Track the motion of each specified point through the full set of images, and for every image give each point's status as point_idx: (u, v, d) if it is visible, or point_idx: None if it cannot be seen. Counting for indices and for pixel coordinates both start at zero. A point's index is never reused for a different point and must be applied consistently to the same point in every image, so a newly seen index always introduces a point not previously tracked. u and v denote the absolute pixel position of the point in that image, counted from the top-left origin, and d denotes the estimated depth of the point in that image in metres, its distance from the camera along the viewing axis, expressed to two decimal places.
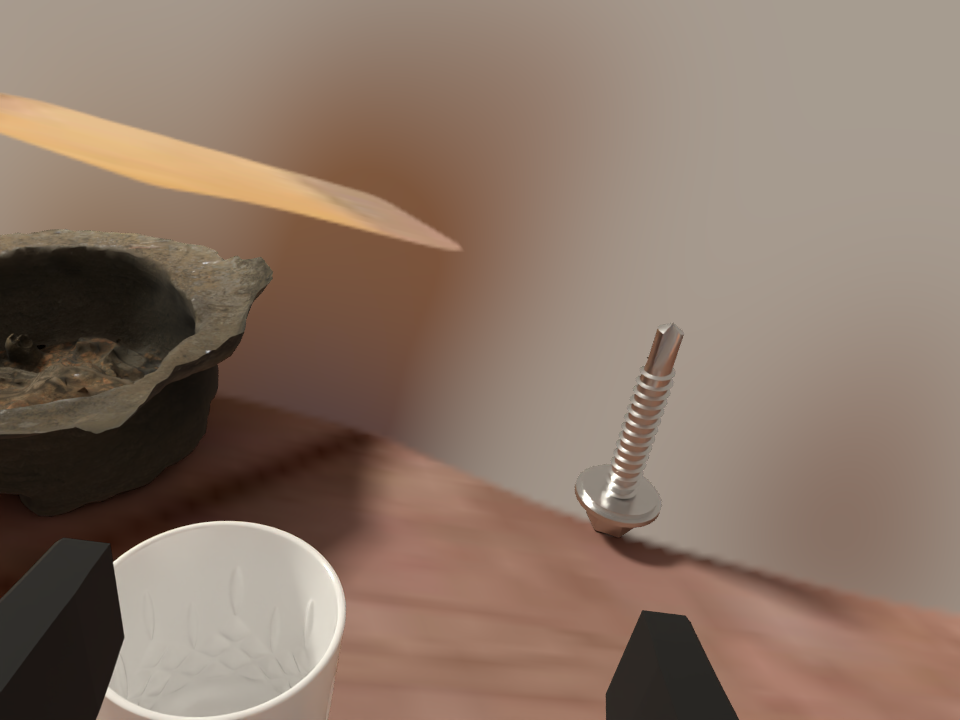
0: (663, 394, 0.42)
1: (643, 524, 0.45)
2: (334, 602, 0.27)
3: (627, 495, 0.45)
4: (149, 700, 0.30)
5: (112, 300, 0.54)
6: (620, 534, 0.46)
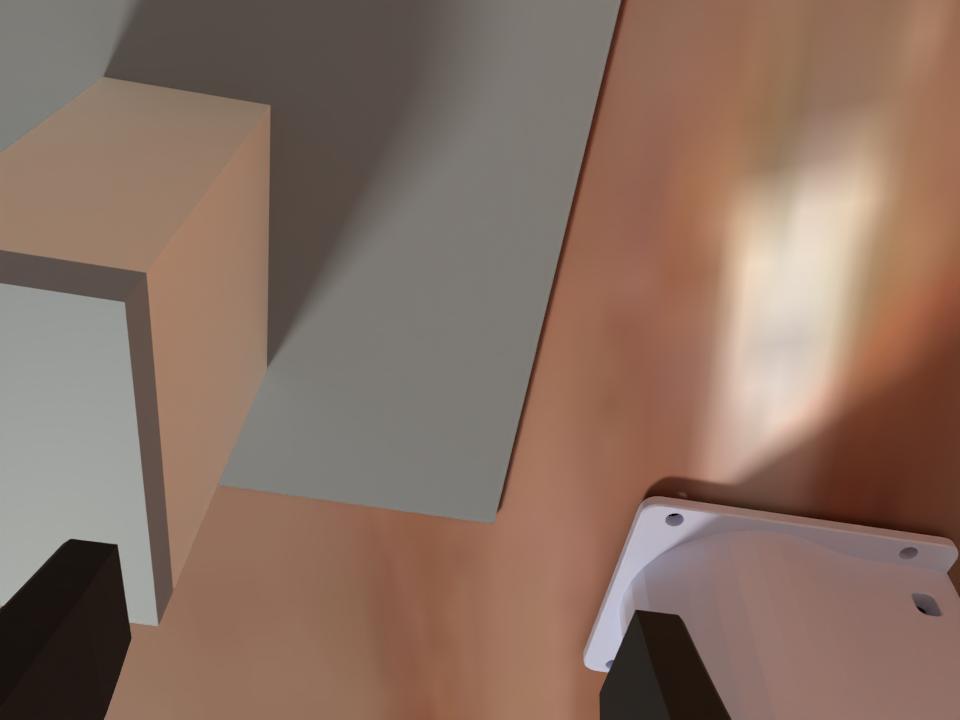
0: None
1: None
2: None
3: None
4: None
5: None
6: None
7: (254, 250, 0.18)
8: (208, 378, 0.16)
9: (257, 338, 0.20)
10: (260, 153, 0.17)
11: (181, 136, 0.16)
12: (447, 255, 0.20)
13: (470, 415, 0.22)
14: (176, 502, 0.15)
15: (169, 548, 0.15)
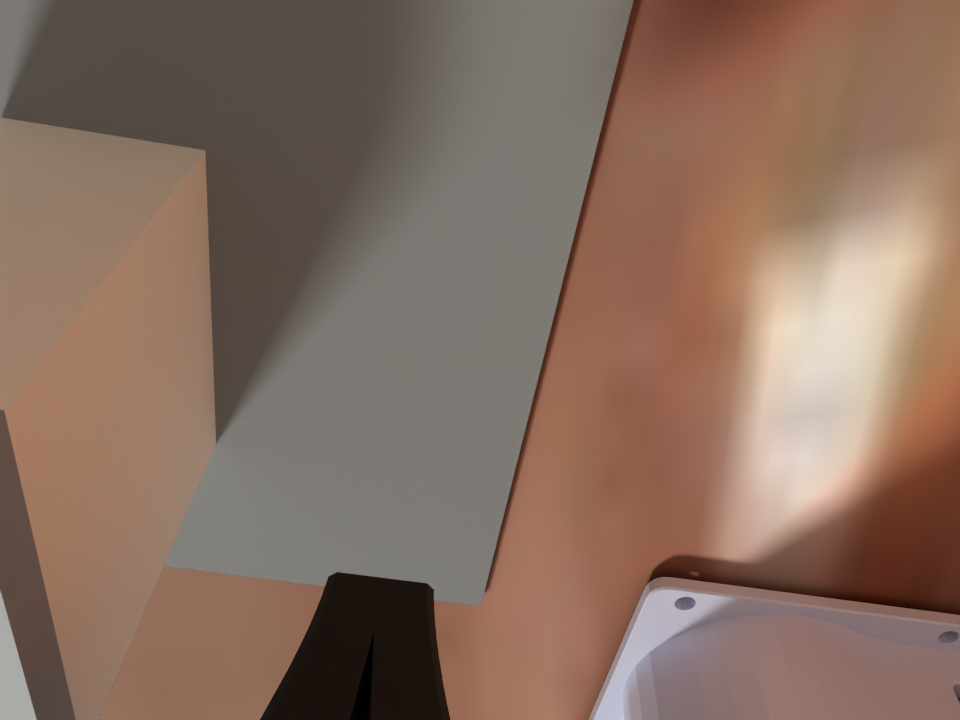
0: None
1: None
2: None
3: None
4: None
5: None
6: None
7: (189, 321, 0.15)
8: (125, 491, 0.13)
9: (200, 416, 0.17)
10: (192, 209, 0.14)
11: (86, 197, 0.13)
12: (421, 320, 0.17)
13: (452, 493, 0.19)
14: (81, 654, 0.12)
15: (73, 711, 0.12)
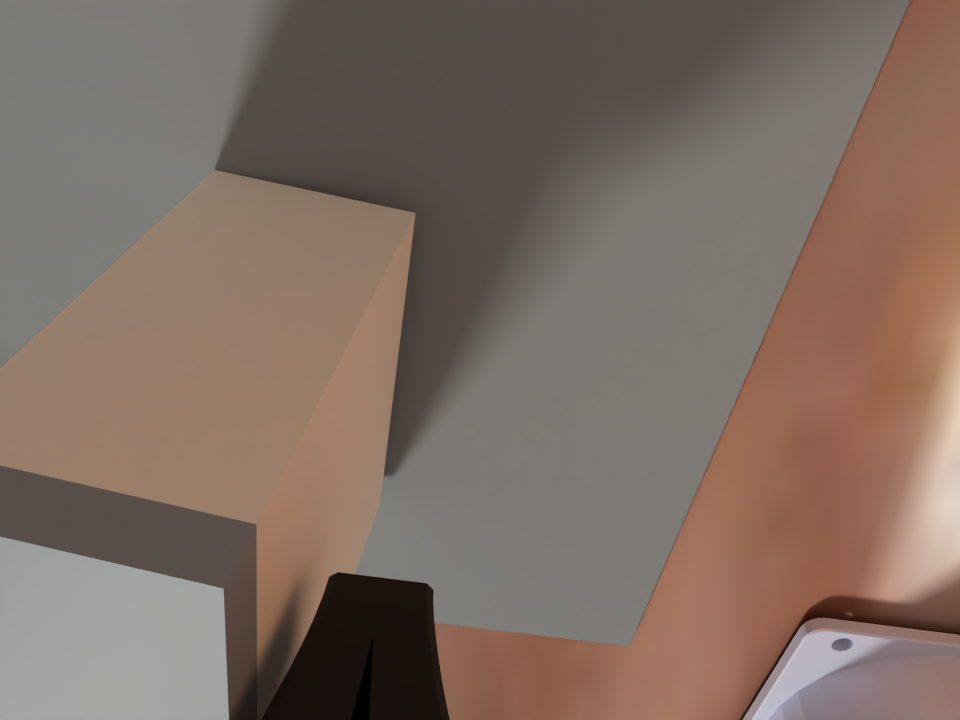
0: None
1: None
2: None
3: None
4: None
5: None
6: None
7: (381, 388, 0.15)
8: (319, 574, 0.12)
9: (374, 480, 0.16)
10: (399, 275, 0.14)
11: (307, 265, 0.12)
12: (615, 368, 0.16)
13: (618, 537, 0.19)
14: None
15: None
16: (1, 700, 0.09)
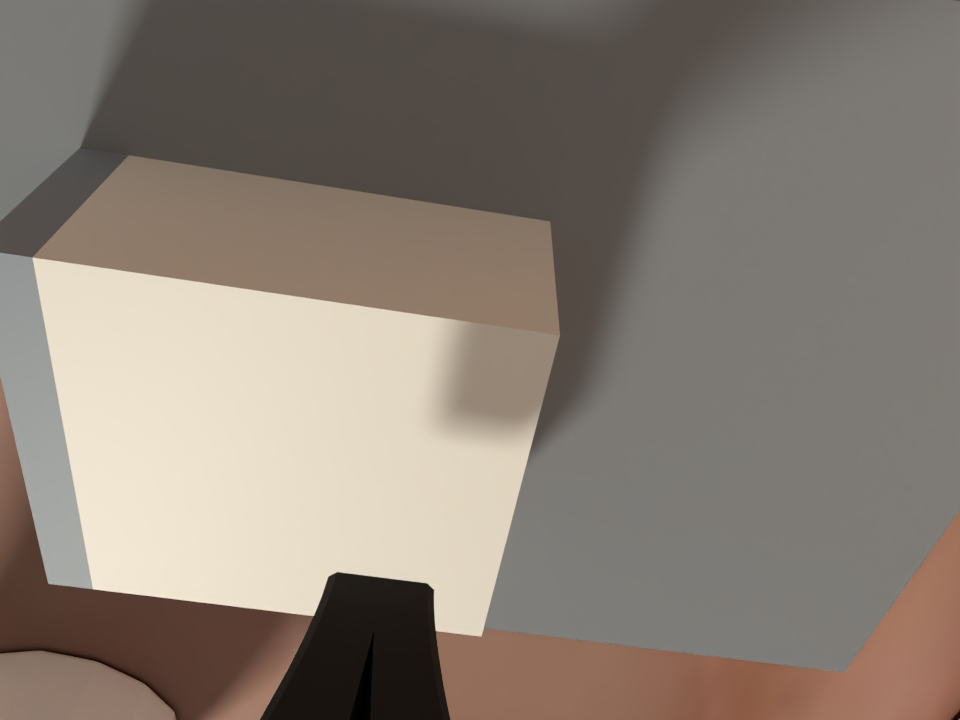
0: None
1: None
2: None
3: None
4: None
5: None
6: None
7: (445, 468, 0.13)
8: (229, 483, 0.14)
9: (441, 574, 0.15)
10: (492, 369, 0.12)
11: (402, 271, 0.12)
12: (898, 409, 0.17)
13: (860, 568, 0.20)
14: (108, 521, 0.14)
15: (84, 545, 0.15)
16: None
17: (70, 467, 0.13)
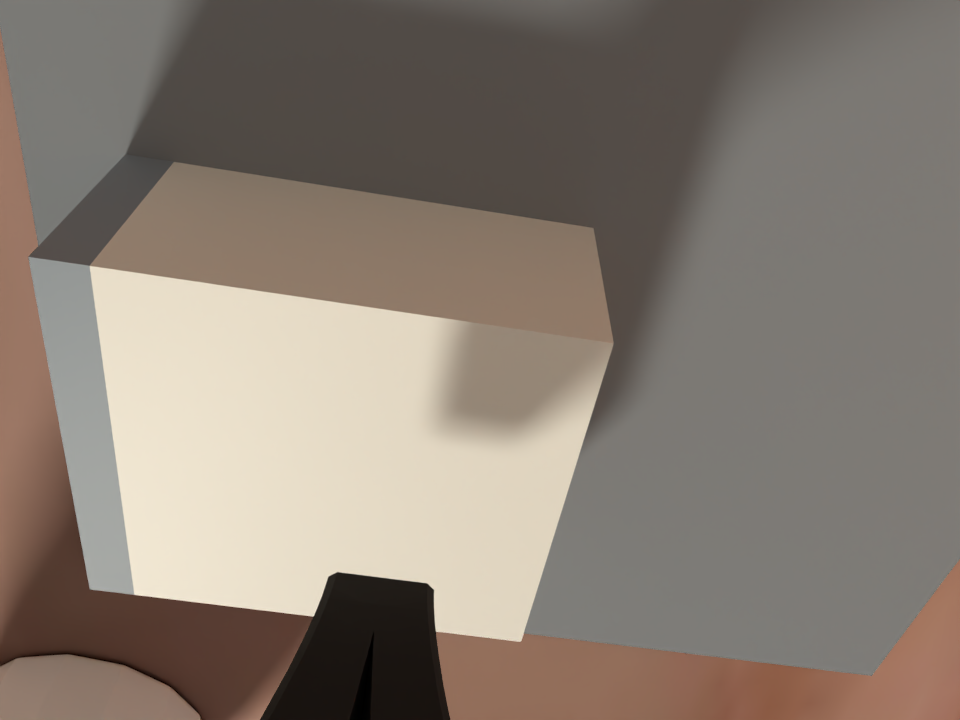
0: None
1: None
2: None
3: None
4: None
5: None
6: None
7: (492, 475, 0.13)
8: (276, 490, 0.14)
9: (484, 580, 0.15)
10: (544, 376, 0.12)
11: (453, 278, 0.12)
12: (934, 414, 0.17)
13: (891, 572, 0.20)
14: (153, 527, 0.14)
15: (128, 551, 0.15)
16: None
17: (117, 474, 0.14)
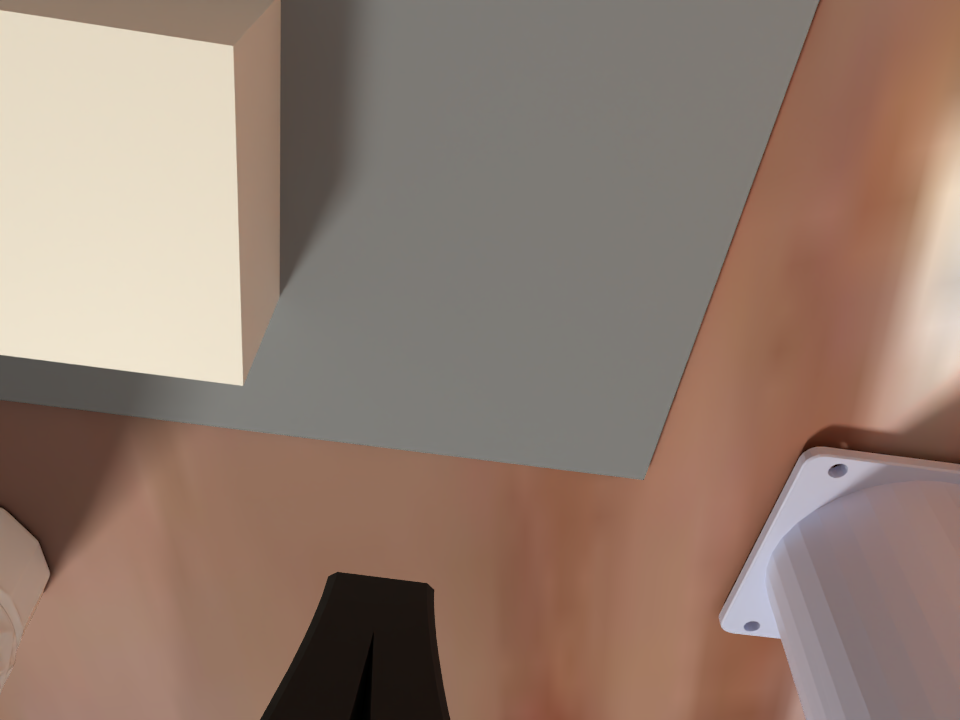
0: None
1: None
2: None
3: None
4: None
5: None
6: None
7: (168, 196, 0.15)
8: None
9: (192, 315, 0.16)
10: (183, 84, 0.14)
11: (111, 5, 0.14)
12: (631, 187, 0.18)
13: (634, 363, 0.21)
14: None
15: None
16: None
17: None
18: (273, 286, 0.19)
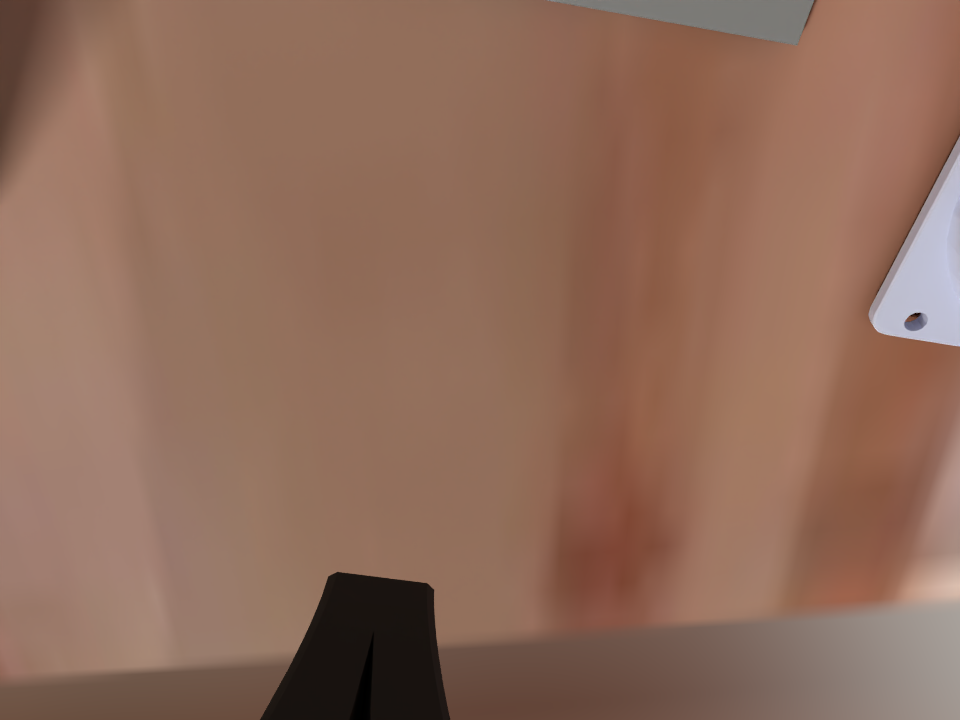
0: None
1: None
2: None
3: None
4: None
5: None
6: None
7: None
8: None
9: None
10: None
11: None
12: None
13: None
14: None
15: None
16: None
17: None
18: None
